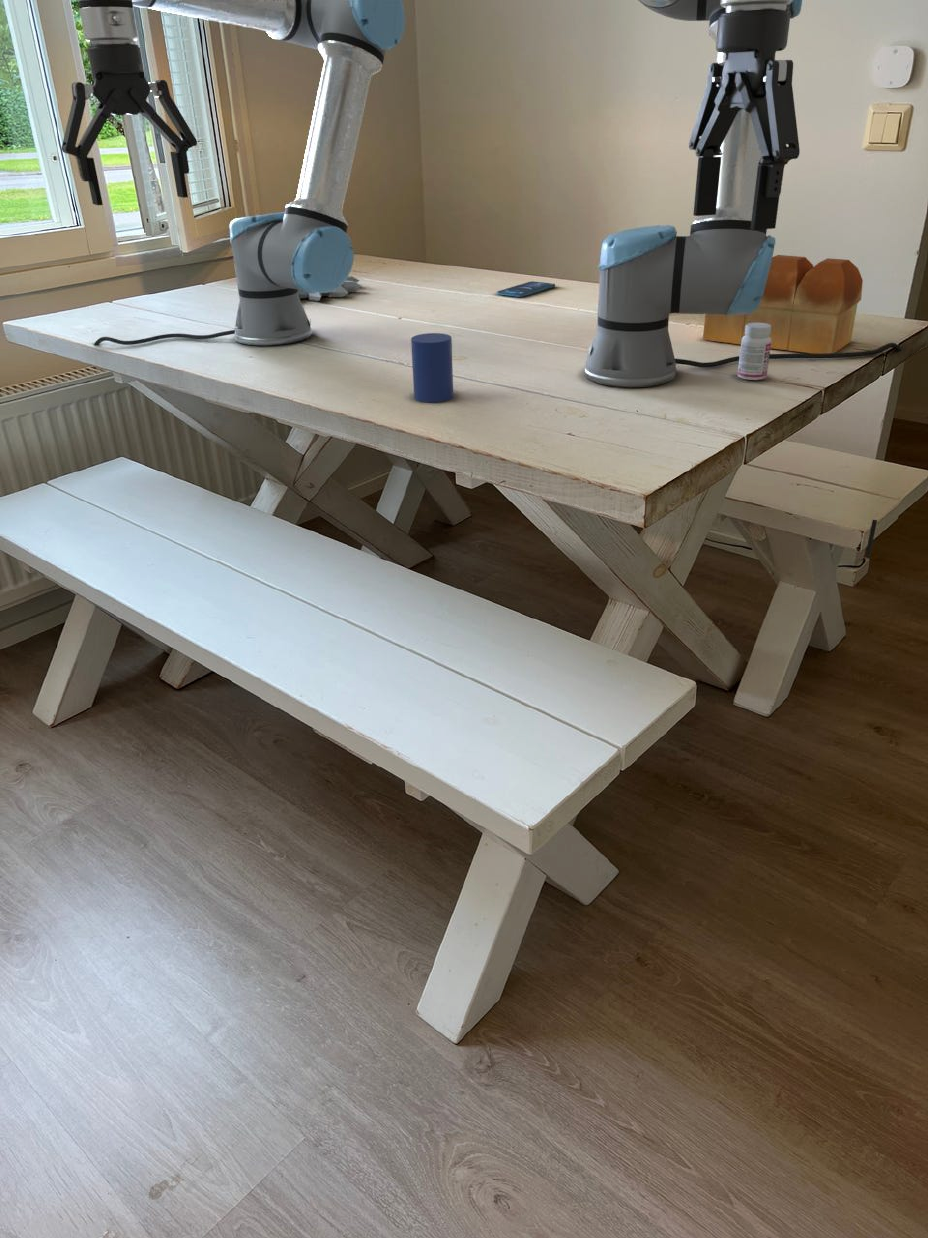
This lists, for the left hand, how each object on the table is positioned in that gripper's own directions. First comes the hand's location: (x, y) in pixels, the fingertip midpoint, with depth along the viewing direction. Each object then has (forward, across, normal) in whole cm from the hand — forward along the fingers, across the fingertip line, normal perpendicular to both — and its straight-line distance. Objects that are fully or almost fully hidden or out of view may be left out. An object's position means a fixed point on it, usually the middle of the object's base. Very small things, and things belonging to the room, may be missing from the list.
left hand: (141, 200), depth 149 cm
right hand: (0, +45, -81) cm, 93 cm away
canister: (+29, +31, -36) cm, 55 cm away
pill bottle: (+29, +78, -61) cm, 103 cm away
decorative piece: (+29, +54, +58) cm, 84 cm away
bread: (+29, +100, -48) cm, 114 cm away
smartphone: (+29, +95, +22) cm, 102 cm away
